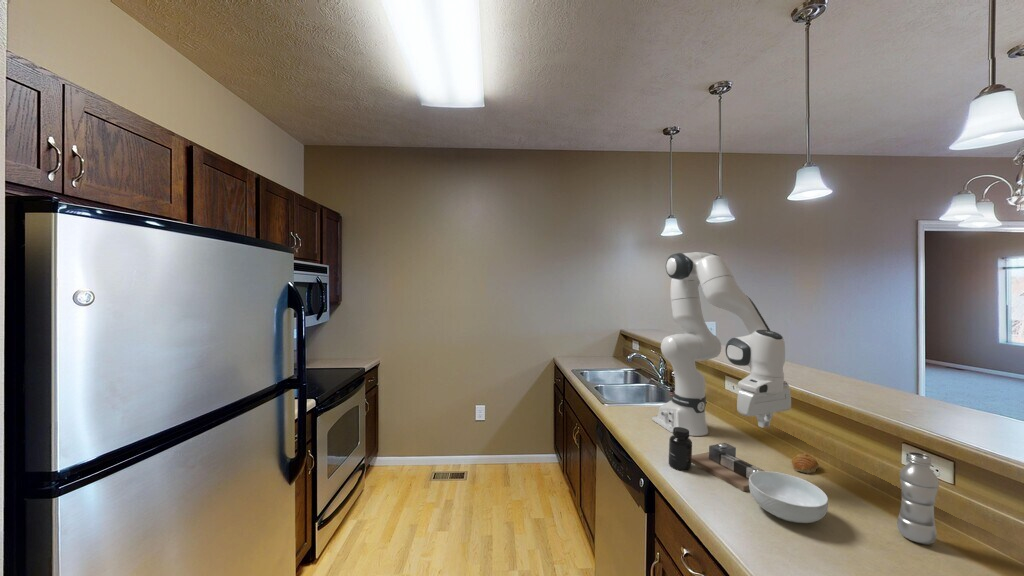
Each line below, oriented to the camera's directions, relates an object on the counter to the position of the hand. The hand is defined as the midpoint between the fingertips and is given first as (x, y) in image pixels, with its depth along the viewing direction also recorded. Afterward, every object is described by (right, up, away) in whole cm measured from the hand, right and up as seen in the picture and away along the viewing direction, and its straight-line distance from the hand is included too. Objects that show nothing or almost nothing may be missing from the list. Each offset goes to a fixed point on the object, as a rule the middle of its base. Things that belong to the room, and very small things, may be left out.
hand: (763, 426), depth 121 cm
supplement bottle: (-25, -15, +4) cm, 29 cm away
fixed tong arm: (-10, -13, -3) cm, 17 cm away
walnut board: (-9, -15, +1) cm, 18 cm away
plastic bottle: (+16, -16, -30) cm, 38 cm away
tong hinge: (-10, -13, +6) cm, 17 cm away
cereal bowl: (-8, -15, -21) cm, 27 cm away
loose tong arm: (-8, -13, -3) cm, 16 cm away
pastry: (+16, -16, +5) cm, 23 cm away
